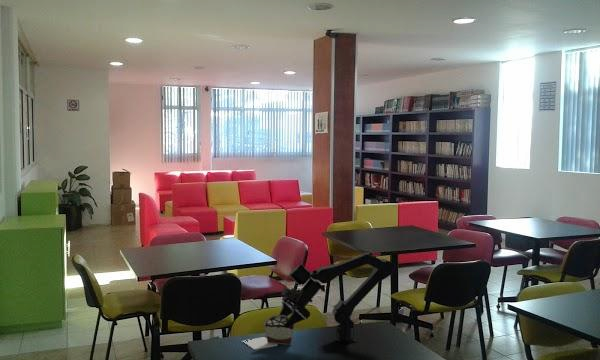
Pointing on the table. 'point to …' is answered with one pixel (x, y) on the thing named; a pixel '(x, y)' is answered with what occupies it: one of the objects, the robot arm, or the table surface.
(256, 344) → the mat
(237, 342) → the table surface
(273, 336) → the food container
